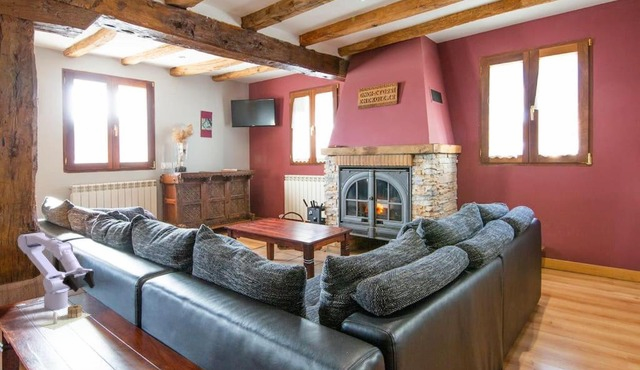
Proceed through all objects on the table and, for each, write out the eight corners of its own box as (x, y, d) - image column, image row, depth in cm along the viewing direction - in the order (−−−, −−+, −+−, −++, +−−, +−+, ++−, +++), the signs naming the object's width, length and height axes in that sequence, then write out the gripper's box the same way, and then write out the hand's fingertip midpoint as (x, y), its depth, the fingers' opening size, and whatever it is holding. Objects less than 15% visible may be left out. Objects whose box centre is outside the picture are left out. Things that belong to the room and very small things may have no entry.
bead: (65, 316, 170) (65, 308, 170) (75, 312, 175) (76, 304, 175) (73, 319, 168) (73, 310, 168) (84, 314, 173) (84, 306, 173)
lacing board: (37, 327, 161) (37, 313, 161) (74, 313, 177) (75, 300, 177) (54, 332, 158) (54, 317, 158) (91, 317, 174) (91, 304, 174)
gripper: (60, 261, 167) (74, 286, 163) (90, 257, 181) (104, 280, 177) (51, 271, 169) (65, 296, 165) (82, 267, 182) (96, 289, 179)
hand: (85, 288), depth 171 cm, fingers open, 7 cm apart
